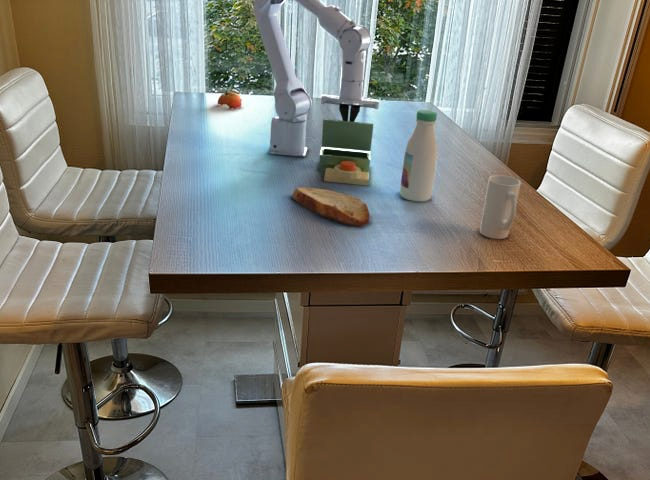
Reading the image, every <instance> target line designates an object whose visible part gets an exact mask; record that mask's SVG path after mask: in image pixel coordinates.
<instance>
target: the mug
mask: <svg viewBox="0 0 650 480" xmlns="http://www.w3.org/2000/svg"><path fill="white" fill-rule="evenodd" d="M521 184H522V182H521V180H519V179H518V178H516V177H513V176H509V175H503V174H494V175H490V176H488V181H487V186H486V192H485V198H484V202H483V208H482V214H481V220H480V226H479V234H481V236H484V237H486V238H489V239H493V240H503V239H506V238H508V236H509V233H510V230H511V227H512V225H513V222H514V220H515V217H516V212H517V205H518V204H517V203H518V196H519V194H520V188H521Z"/></svg>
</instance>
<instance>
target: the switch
mask: <svg viewBox="0 0 650 480" xmlns="http://www.w3.org/2000/svg"><path fill="white" fill-rule="evenodd" d="M340 169H341V170H344V171H355V163H354V162H351V161H343V162H341V168H340Z"/></svg>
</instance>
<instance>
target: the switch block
mask: <svg viewBox="0 0 650 480" xmlns="http://www.w3.org/2000/svg"><path fill="white" fill-rule="evenodd" d="M340 168H341V165H337V166H335V168H334V169H332V168H326V171H324V172H325V173H324V179H323V182H329V183H330V182H331V183H340V184H341V183H342V184H351V185H361V186H369V184H370V183H369V182H370V171H369V172H362V171H361V169H360V168H359V167H357V166H355V171H344V170H341V169H340Z"/></svg>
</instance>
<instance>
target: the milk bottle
mask: <svg viewBox="0 0 650 480" xmlns="http://www.w3.org/2000/svg"><path fill="white" fill-rule="evenodd" d="M415 117H416V119H415V122H416V124H415V127H414V129H413V131H412V133H411V135H410V136H409V138H408V140H407V142H406V146H405V151H404V157H403V164H402V170H401V171H402V173H401V179H400V187H399V195H400V197H402V198H403V199H405V200H407V201H412V202H426V201H429V200H430V199H431V198H432V196H433V195H432V194H433V188H434V183H435V176H436V168H437V163H438V155H439V154H438V153H439V145H438V140H437V136H436V131H435V125H436V123H437V119H438V118H437V117H438V113H437V112H436V111H433V110H430V109H429V110H428V109H419V110H417V112H416V116H415Z"/></svg>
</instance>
